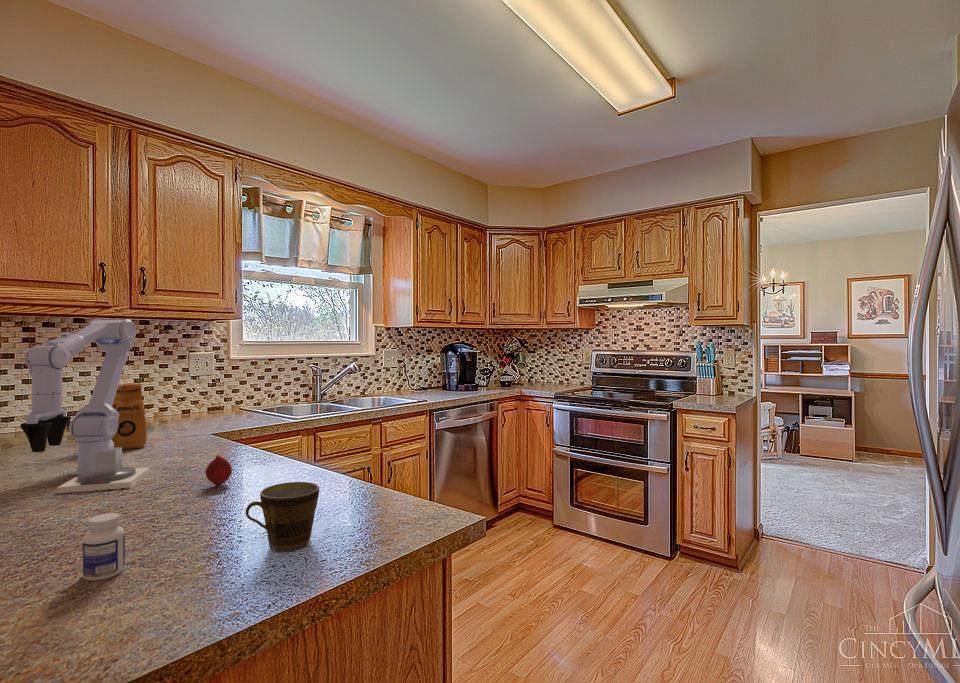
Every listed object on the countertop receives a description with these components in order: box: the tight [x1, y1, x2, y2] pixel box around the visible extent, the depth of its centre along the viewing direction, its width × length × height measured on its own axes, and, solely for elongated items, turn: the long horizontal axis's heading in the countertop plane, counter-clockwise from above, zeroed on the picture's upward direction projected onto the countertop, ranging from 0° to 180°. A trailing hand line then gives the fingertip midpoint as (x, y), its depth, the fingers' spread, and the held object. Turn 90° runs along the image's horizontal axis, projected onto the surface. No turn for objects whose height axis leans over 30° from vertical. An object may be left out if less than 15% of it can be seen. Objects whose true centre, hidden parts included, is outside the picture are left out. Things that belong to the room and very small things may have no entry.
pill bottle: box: [82, 512, 126, 582], centre depth 78 cm, size 5×5×9 cm
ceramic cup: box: [245, 481, 320, 553], centre depth 87 cm, size 13×10×10 cm
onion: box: [205, 453, 233, 487], centre depth 125 cm, size 6×6×8 cm
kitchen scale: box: [57, 466, 151, 494], centre depth 127 cm, size 15×15×2 cm
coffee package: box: [110, 383, 148, 450], centre depth 168 cm, size 10×12×22 cm
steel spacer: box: [95, 447, 123, 475], centre depth 127 cm, size 4×4×6 cm
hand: (46, 448), depth 122 cm, fingers open, 7 cm apart
